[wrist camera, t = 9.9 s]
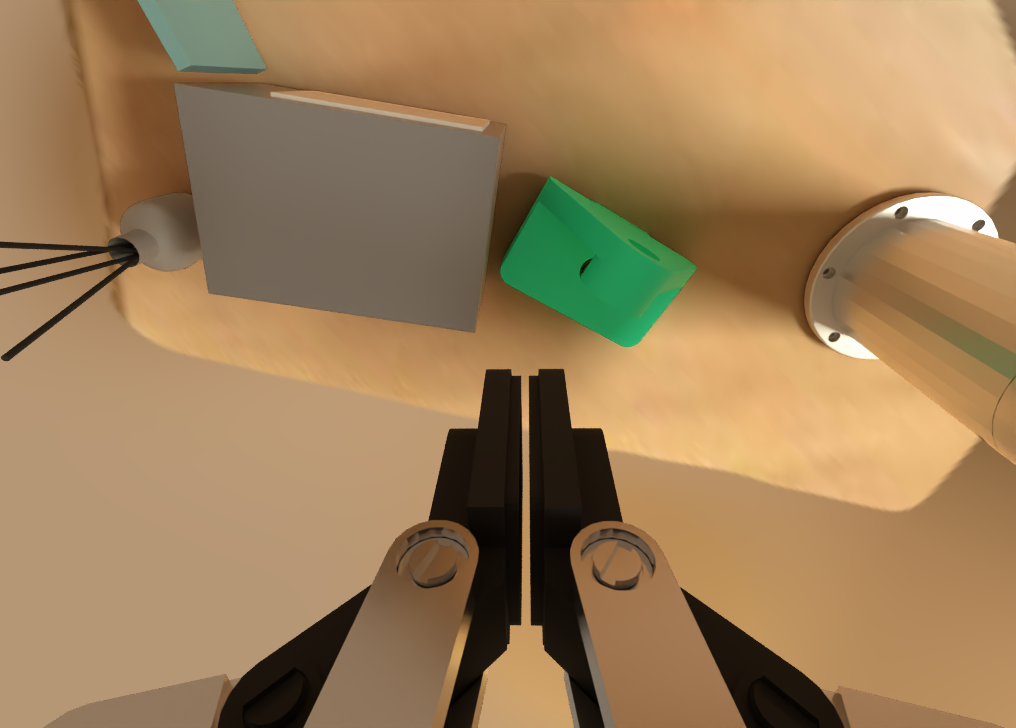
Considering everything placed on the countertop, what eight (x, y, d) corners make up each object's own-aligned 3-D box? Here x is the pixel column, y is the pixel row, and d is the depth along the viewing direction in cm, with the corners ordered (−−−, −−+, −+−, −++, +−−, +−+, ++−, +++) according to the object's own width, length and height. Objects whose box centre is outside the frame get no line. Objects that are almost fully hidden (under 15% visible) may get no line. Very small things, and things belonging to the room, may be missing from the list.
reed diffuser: (138, 240, 37) (-203, 379, 20) (123, 144, 34) (-304, 208, 16) (274, 271, 38) (62, 430, 21) (274, 180, 35) (19, 277, 17)
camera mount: (496, 265, 37) (487, 322, 28) (549, 172, 34) (557, 204, 25) (625, 336, 40) (654, 409, 31) (686, 256, 37) (738, 312, 28)
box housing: (506, 121, 32) (500, 133, 24) (485, 281, 38) (474, 332, 30) (260, 79, 31) (172, 78, 24) (275, 249, 37) (208, 293, 29)
